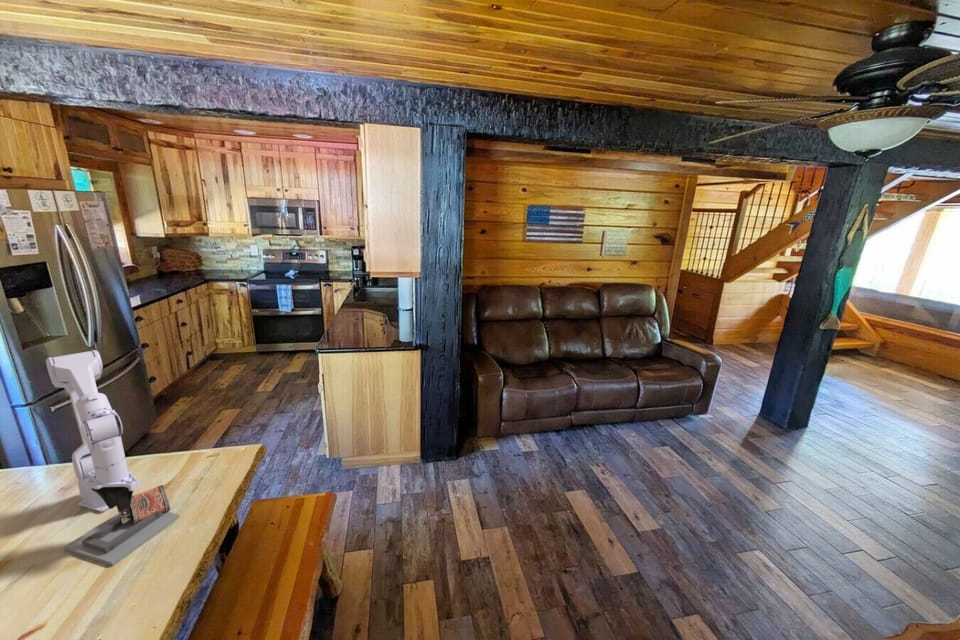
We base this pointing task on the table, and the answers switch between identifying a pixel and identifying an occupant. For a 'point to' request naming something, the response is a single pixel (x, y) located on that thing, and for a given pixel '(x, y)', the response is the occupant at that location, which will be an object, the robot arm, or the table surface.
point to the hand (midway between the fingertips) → (119, 507)
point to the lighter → (145, 505)
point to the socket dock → (119, 537)
